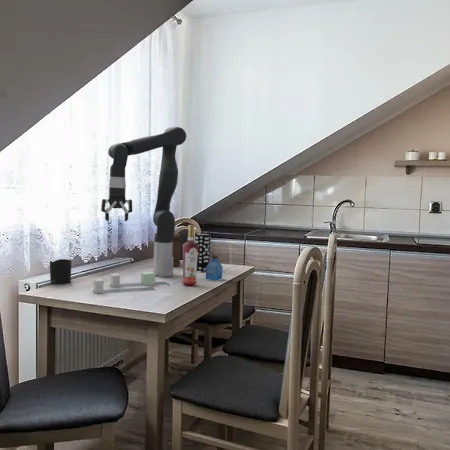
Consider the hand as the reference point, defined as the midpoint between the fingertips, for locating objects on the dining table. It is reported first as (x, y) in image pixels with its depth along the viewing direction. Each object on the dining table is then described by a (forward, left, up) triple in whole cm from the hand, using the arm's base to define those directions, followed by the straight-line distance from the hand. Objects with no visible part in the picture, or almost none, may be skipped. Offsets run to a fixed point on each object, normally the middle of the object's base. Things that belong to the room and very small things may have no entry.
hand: (116, 221), depth 228 cm
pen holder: (+25, 0, -28) cm, 38 cm away
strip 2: (-7, +17, -28) cm, 33 cm away
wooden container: (-37, -34, -28) cm, 58 cm away
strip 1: (+2, +27, -28) cm, 39 cm away
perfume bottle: (-47, +10, -28) cm, 56 cm away
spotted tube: (-50, -13, -28) cm, 59 cm away
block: (-11, +17, -27) cm, 34 cm away
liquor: (-30, +20, -28) cm, 46 cm away
